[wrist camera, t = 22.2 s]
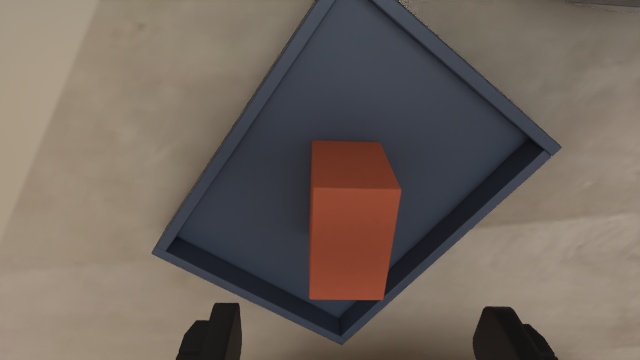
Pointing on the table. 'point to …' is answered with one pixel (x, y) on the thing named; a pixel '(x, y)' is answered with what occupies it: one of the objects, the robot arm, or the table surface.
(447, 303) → the table surface
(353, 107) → the tray
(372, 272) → the sponge
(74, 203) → the table surface
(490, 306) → the robot arm
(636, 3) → the crock
